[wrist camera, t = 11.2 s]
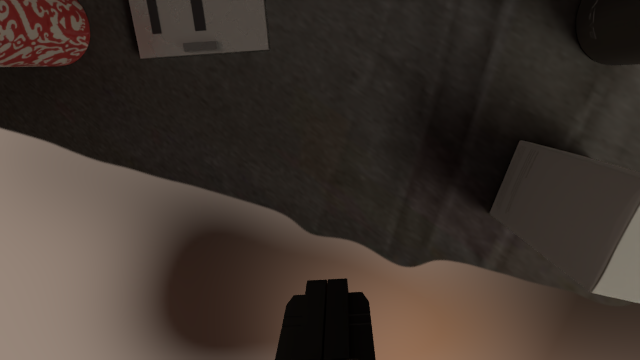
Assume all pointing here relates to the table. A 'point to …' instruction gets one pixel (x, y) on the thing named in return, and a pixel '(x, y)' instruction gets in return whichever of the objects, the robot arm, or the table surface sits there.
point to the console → (199, 27)
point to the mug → (42, 32)
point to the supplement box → (576, 216)
